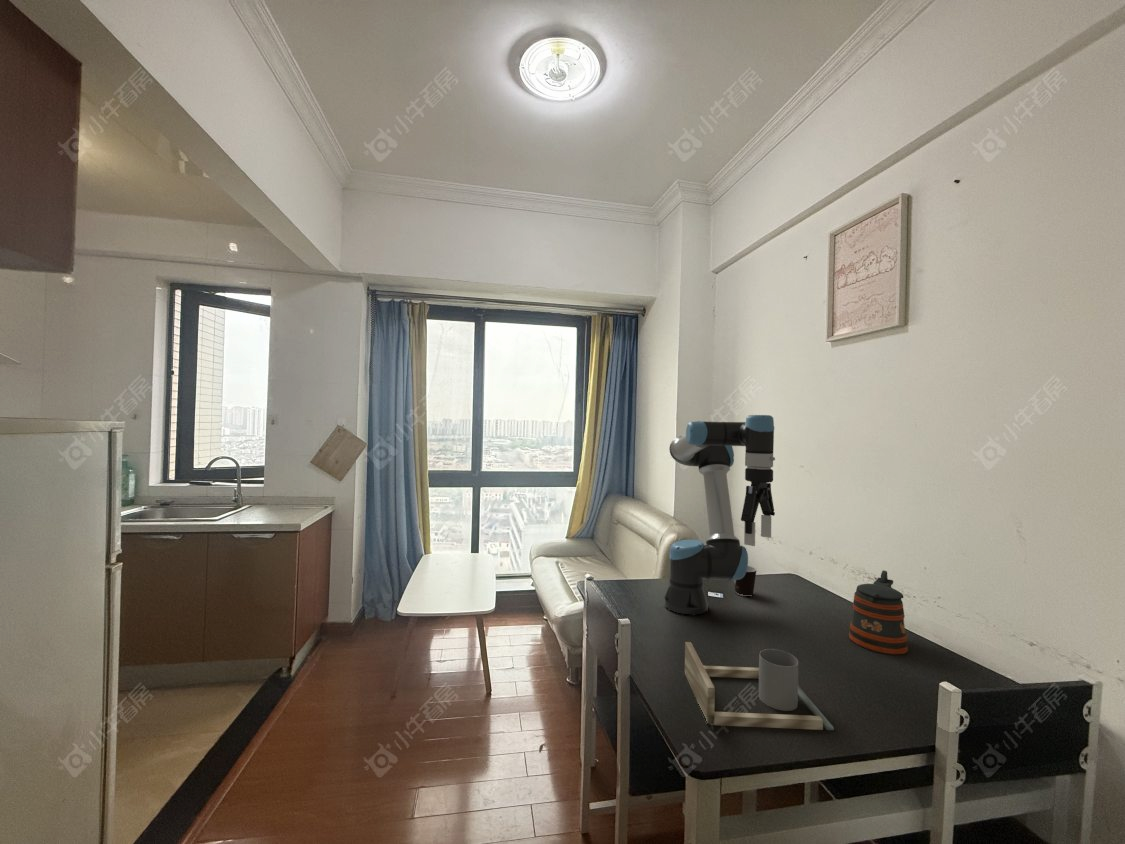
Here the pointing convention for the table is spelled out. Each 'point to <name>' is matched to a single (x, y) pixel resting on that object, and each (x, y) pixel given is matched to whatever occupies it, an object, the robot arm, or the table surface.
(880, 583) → the beer stein
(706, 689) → the bay
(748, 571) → the coffee mug
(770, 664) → the cup
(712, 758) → the table surface
